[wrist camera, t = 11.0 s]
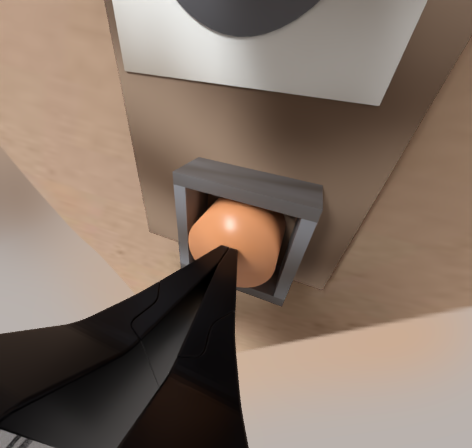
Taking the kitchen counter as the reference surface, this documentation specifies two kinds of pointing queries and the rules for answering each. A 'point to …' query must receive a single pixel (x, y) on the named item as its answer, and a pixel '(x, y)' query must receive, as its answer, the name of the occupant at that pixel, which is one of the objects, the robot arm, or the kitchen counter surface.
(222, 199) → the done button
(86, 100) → the kitchen counter surface
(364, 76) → the board
